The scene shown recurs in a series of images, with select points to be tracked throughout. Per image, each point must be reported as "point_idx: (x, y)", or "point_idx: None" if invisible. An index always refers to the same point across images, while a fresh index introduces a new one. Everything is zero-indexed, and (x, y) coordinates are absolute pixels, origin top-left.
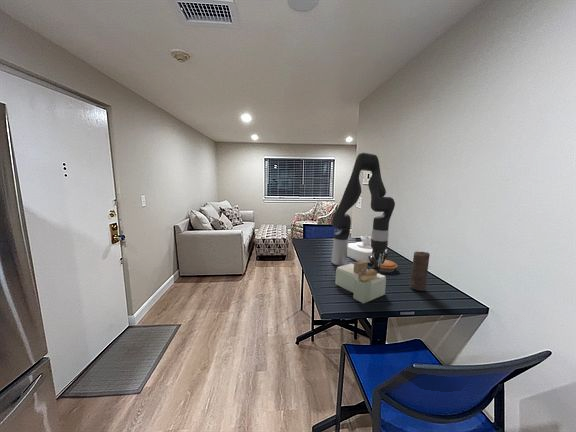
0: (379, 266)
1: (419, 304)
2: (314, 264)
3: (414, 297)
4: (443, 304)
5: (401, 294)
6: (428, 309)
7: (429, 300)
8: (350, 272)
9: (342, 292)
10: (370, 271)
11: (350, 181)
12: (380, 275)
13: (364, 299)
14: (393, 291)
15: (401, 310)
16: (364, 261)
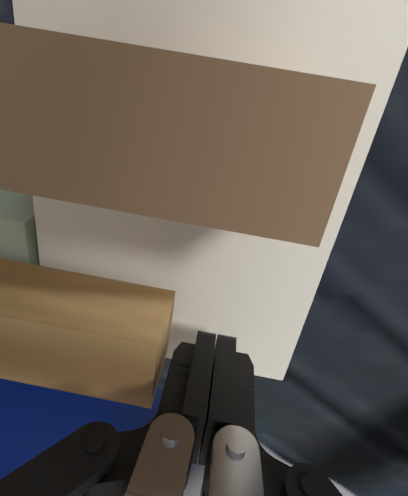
0: (198, 463)
1: (288, 418)
2: None
3: (360, 393)
4: (367, 477)
5: (353, 342)
6: (265, 445)
7: (372, 440)
8: (22, 13)
9: None
10: (46, 366)
11: None
12: (265, 343)
13: None
14: (368, 298)
15: (159, 380)
16: (282, 179)
